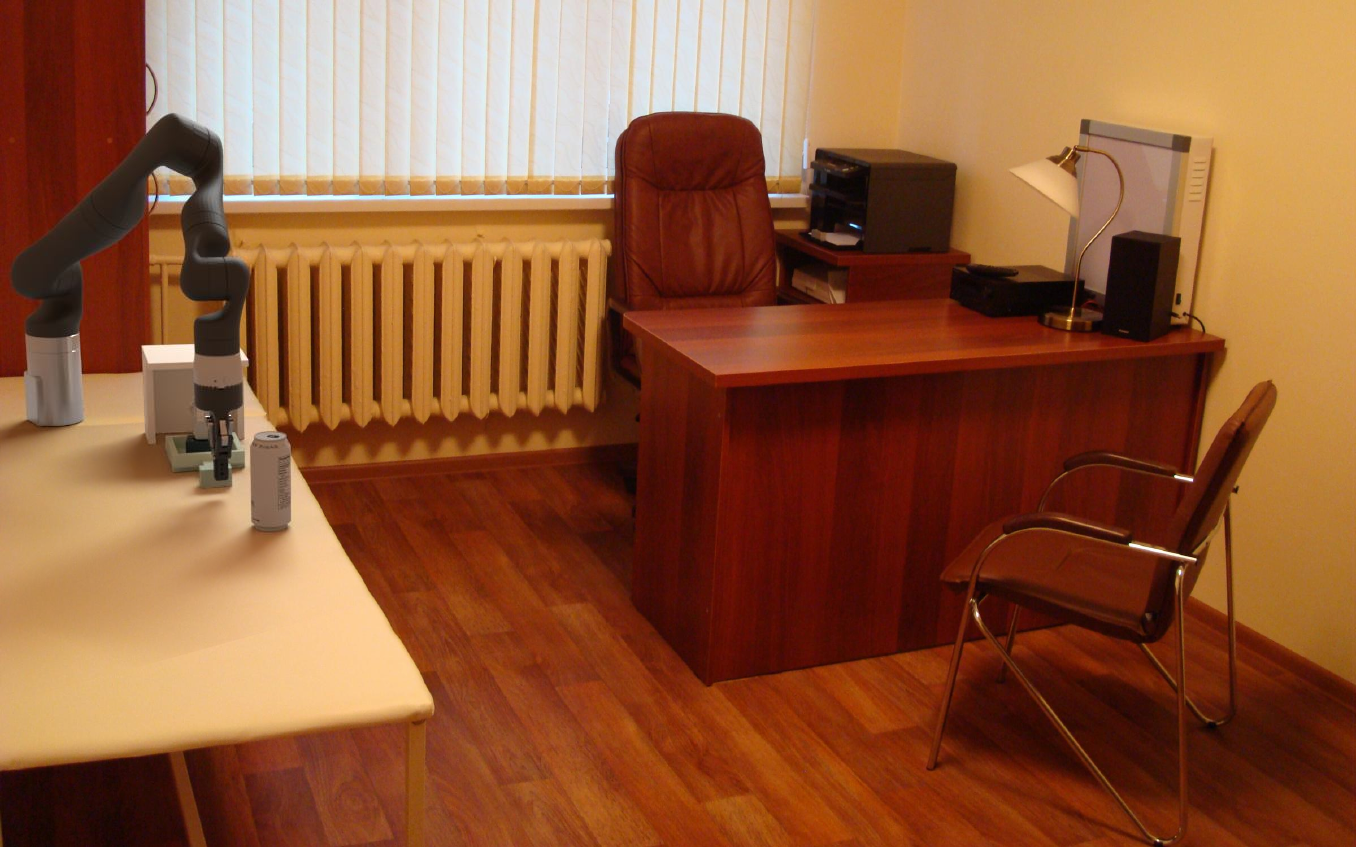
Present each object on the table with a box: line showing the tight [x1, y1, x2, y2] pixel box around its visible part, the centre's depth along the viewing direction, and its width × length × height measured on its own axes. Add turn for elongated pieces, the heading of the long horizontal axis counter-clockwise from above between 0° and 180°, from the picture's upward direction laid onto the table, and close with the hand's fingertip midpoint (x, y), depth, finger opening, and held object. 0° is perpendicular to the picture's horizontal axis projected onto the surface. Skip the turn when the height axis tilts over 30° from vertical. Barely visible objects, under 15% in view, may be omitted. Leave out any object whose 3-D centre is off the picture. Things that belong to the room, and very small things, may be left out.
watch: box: [186, 396, 212, 453], centre depth 228 cm, size 6×8×11 cm
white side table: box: [141, 343, 250, 445], centre depth 238 cm, size 14×17×17 cm
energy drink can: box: [249, 430, 292, 533], centre depth 200 cm, size 6×6×15 cm
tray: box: [165, 431, 246, 489], centre depth 225 cm, size 22×12×3 cm, turn 27°
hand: (221, 479), depth 212 cm, fingers closed
